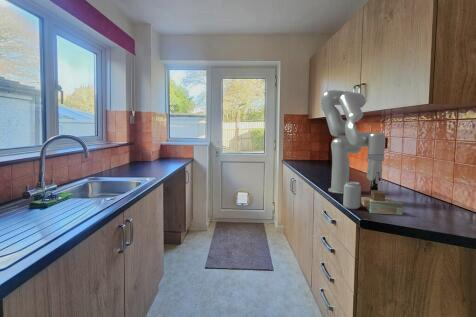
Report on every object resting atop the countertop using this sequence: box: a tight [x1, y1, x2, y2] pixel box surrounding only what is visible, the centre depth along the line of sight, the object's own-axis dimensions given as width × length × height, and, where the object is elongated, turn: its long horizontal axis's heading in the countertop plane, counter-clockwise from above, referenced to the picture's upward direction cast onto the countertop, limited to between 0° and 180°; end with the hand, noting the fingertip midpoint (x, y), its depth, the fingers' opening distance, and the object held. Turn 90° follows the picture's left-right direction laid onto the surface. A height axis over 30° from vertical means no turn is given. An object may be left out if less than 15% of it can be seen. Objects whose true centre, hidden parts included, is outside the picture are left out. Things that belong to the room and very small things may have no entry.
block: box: [370, 189, 386, 201], centre depth 146 cm, size 5×5×4 cm
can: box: [342, 181, 362, 210], centre depth 142 cm, size 8×8×12 cm
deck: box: [360, 196, 404, 216], centre depth 141 cm, size 18×13×5 cm
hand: (373, 193), depth 154 cm, fingers closed
